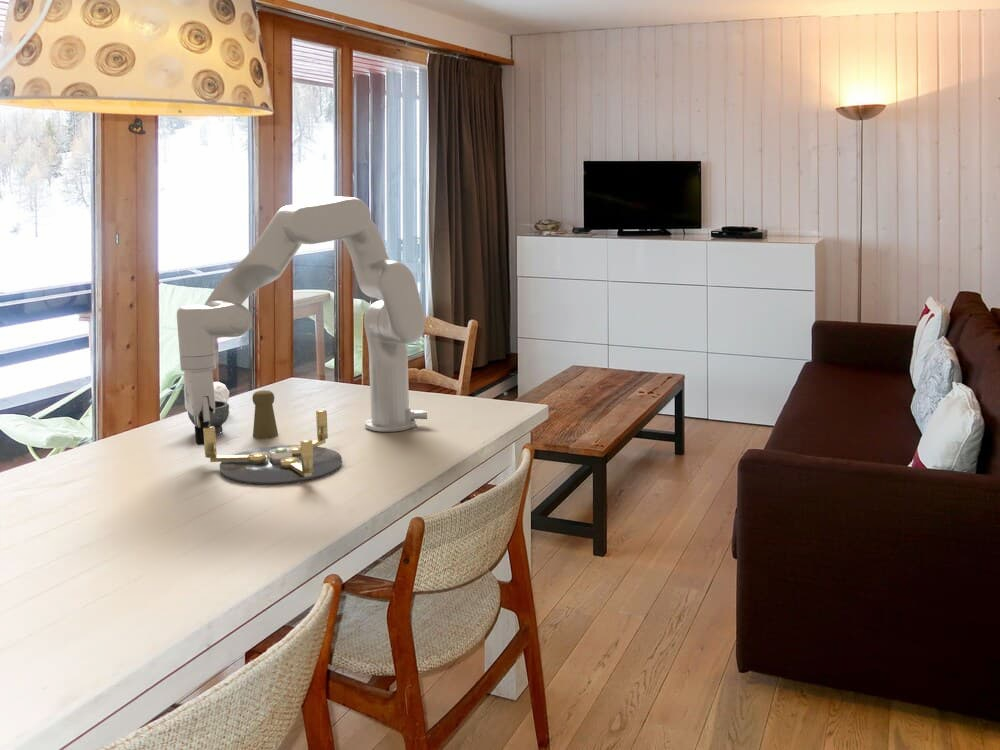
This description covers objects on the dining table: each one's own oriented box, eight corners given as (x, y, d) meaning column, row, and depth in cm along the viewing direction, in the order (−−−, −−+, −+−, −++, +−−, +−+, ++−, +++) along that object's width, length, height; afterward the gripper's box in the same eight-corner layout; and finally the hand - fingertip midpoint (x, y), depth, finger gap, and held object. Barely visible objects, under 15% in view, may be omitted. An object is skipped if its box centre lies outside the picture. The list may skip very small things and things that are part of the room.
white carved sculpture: (229, 379, 271) (225, 393, 260) (231, 409, 274) (227, 424, 262) (204, 380, 270) (199, 394, 259) (207, 410, 273) (202, 426, 261)
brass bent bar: (297, 457, 224) (295, 423, 222) (282, 455, 226) (280, 421, 224) (333, 442, 235) (331, 410, 234) (318, 440, 237) (317, 409, 235)
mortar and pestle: (231, 426, 257) (228, 380, 254) (228, 436, 248) (225, 387, 245) (185, 428, 255) (182, 382, 253) (180, 438, 246) (177, 389, 244)
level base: (347, 448, 236) (346, 432, 235) (335, 483, 210) (334, 465, 209) (233, 451, 234) (232, 435, 234) (207, 486, 209) (206, 468, 208)
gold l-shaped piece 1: (268, 457, 224) (266, 424, 222) (265, 462, 220) (263, 428, 218) (207, 459, 223) (205, 425, 222) (203, 464, 219) (201, 430, 218)
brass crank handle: (277, 464, 218) (275, 430, 217) (295, 461, 221) (293, 427, 219) (301, 480, 208) (299, 444, 206) (319, 476, 210) (317, 440, 208)
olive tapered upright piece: (272, 439, 245) (269, 394, 243) (248, 437, 246) (245, 393, 244) (282, 432, 251) (279, 388, 248) (259, 431, 252) (256, 388, 250)
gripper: (173, 358, 227) (179, 438, 231) (187, 369, 214) (193, 454, 218) (208, 355, 231) (213, 433, 234) (223, 366, 218) (229, 449, 221)
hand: (203, 443), depth 226 cm, fingers closed
